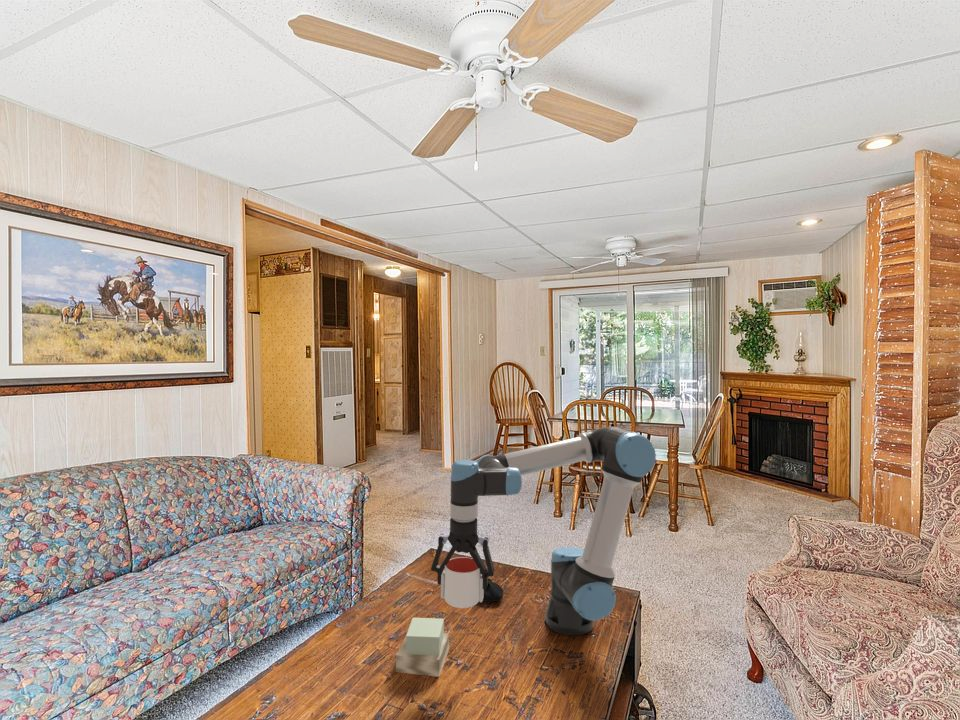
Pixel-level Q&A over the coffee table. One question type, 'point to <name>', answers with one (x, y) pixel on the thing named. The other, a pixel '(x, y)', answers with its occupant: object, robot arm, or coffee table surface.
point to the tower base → (422, 660)
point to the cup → (462, 582)
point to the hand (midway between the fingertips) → (462, 597)
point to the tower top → (425, 636)
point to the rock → (492, 592)
